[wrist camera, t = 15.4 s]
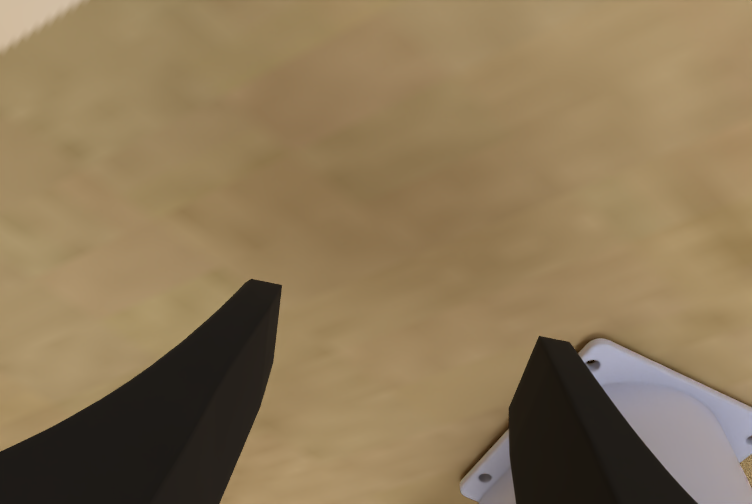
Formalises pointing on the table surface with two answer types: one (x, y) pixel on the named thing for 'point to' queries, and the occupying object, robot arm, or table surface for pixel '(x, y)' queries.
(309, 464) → the table surface
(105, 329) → the table surface
